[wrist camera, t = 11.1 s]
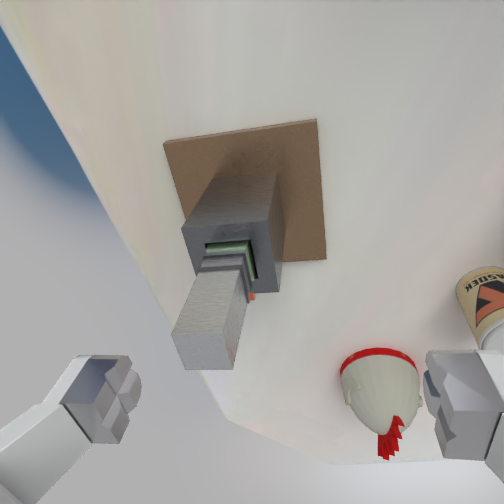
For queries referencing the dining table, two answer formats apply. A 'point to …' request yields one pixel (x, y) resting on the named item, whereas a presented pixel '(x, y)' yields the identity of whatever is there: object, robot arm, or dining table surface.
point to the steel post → (216, 307)
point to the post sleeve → (253, 195)
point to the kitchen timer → (382, 393)
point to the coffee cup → (484, 305)
